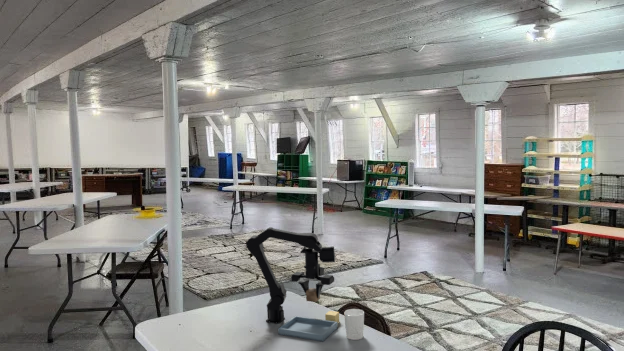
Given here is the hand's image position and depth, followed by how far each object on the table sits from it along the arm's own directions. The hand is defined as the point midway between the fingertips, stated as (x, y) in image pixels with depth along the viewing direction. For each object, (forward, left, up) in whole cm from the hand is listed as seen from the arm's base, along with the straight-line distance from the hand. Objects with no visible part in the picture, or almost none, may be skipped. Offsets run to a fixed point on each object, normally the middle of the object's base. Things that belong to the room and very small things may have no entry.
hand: (313, 297), depth 205 cm
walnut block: (0, 0, -1) cm, 1 cm away
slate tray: (+3, -12, -10) cm, 16 cm away
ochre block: (+9, 0, -10) cm, 14 cm away
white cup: (+23, -10, -10) cm, 27 cm away
